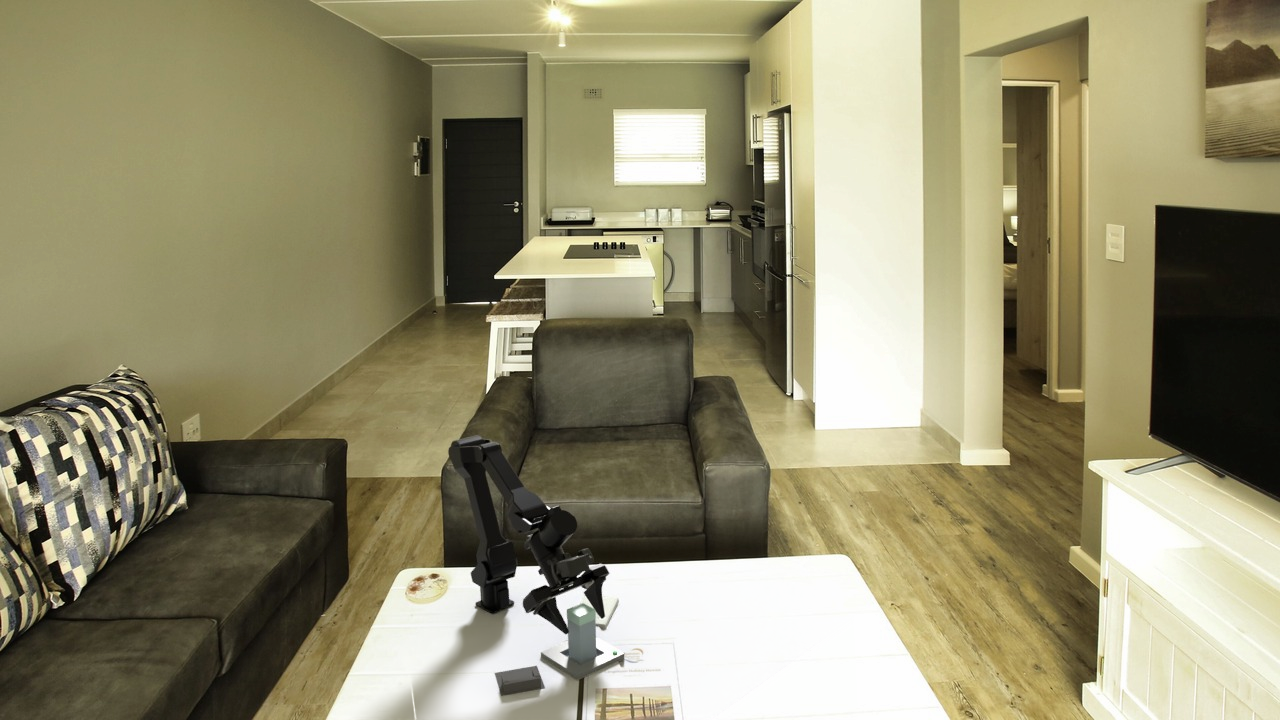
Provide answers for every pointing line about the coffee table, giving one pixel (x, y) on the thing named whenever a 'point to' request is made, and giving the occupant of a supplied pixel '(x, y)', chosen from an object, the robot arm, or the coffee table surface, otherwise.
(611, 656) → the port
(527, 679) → the corner stop plate
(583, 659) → the plug
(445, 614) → the coffee table surface
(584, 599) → the external hard drive
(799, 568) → the coffee table surface
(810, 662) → the coffee table surface
